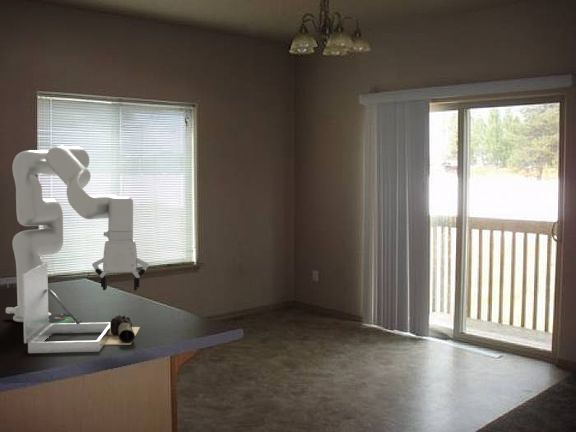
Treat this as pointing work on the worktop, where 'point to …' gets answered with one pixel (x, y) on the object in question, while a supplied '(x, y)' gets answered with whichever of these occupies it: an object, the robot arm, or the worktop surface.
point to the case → (41, 328)
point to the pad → (115, 338)
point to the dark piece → (122, 328)
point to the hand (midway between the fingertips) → (120, 289)
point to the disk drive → (61, 318)
